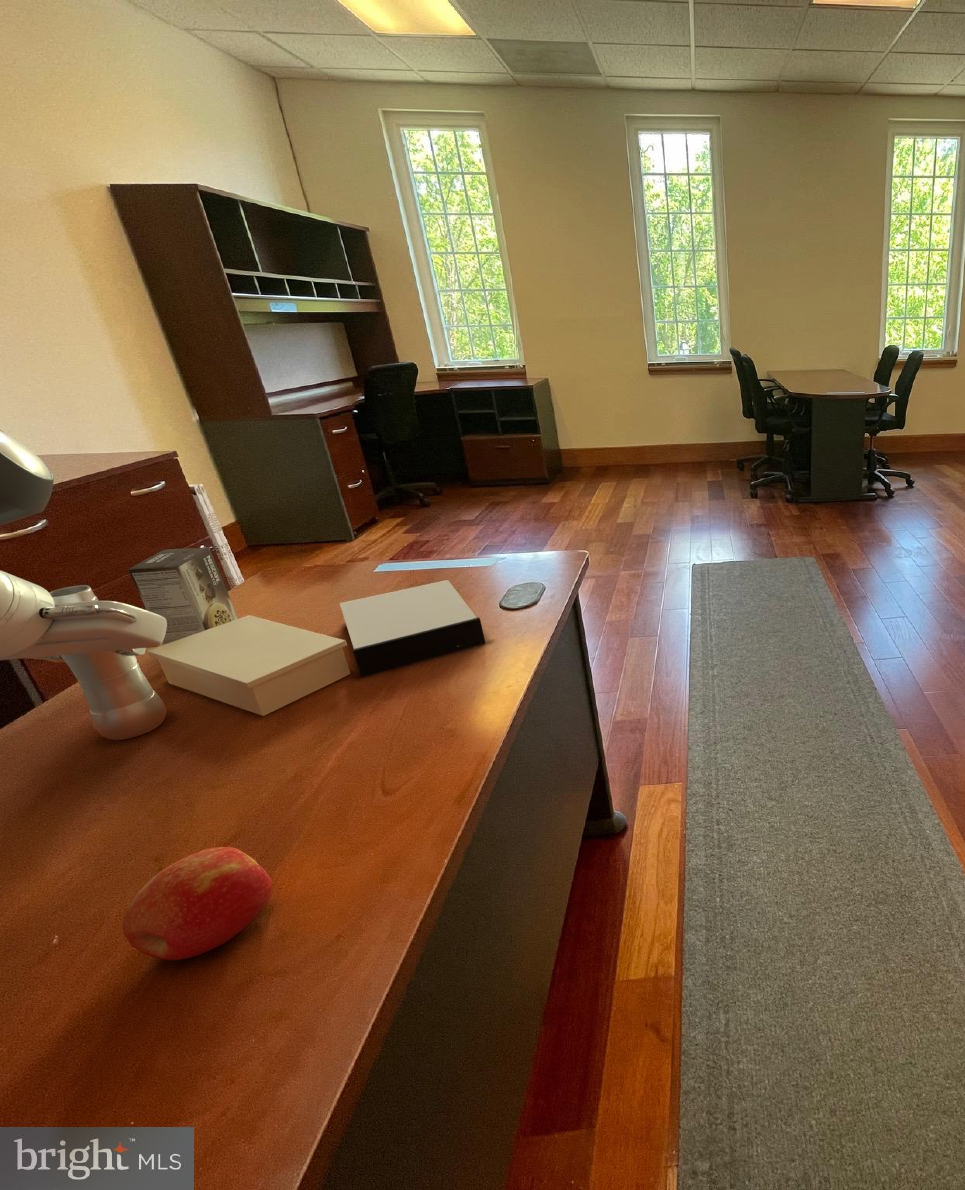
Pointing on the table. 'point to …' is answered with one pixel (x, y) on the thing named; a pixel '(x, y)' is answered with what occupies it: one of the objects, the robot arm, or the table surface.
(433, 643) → the disc drive
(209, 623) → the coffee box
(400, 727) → the table surface
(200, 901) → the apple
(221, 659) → the flat beige lidded box
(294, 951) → the table surface
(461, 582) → the table surface
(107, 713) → the plastic bottle
